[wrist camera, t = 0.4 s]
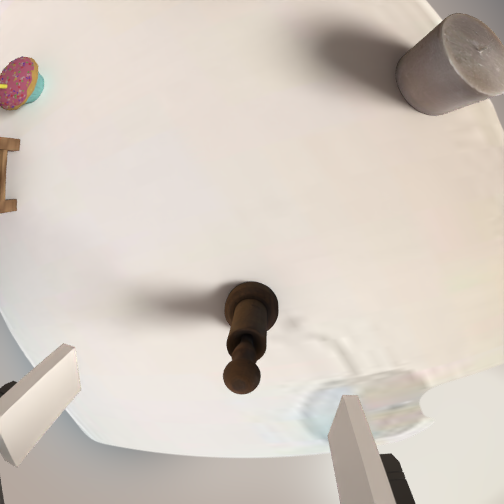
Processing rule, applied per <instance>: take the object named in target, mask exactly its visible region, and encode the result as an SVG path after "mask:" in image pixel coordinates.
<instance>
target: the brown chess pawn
mask: <svg viewBox="0 0 504 504" xmlns="http://www.w3.org/2000/svg"><path fill="white" fill-rule="evenodd" d="M225 317H226V320H227V322H228V323H229V325H230V326H231V328H230V332H229V335H228V339H227V350H228V352H229V354H230V356H231V357H232V361H231V362H230V363H228V365H227V366H226V367H225V369H224V373H223V379H224V383H225V385H226V386H227V388H228V389H229V390H231V391H232V392H234V393H237V394H247V393H250V392H252V391H253V390H254V389H255V388H256V387H257V386H258V384H259V382H260V377H261V375H260V370H259V368H258V366H257V365H256V364H255V363H256V362H257V360H259V359H260V358H261V357H262V356H263V355H264V353H265V351H266V336H267V331H268V330H269V329H270V328H271V327H272V326H273V325H274V324H275V322H276V320H277V317H278V300H277V297H276V295H275V294H274V292H273V291H272V290H271V289H270V288H269V287H267V286H266V285H264V284H262V283H258V282H246V283H242V284H240V285H238V286H237V287H235V288H234V289H233V290H232V291H231V292H230V294H229V296H228V298H227V301H226V304H225Z"/></svg>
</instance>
